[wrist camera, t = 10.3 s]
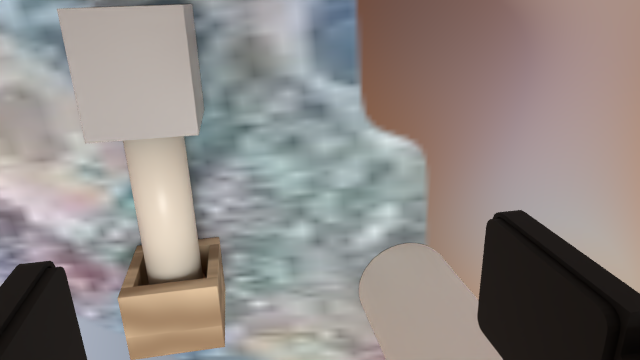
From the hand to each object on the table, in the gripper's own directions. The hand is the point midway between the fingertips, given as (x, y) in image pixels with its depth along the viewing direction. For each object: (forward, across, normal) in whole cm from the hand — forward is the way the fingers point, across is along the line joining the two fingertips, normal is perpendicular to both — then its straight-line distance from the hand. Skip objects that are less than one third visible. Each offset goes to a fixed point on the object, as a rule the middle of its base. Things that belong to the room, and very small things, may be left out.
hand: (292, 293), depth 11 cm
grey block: (+30, +7, -2) cm, 31 cm away
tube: (+29, +7, +8) cm, 31 cm away
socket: (+30, +7, +16) cm, 35 cm away
